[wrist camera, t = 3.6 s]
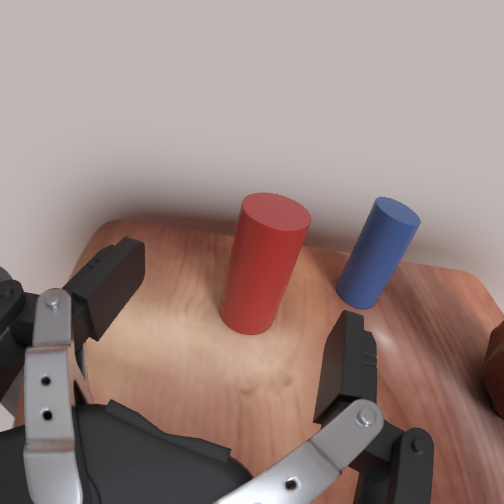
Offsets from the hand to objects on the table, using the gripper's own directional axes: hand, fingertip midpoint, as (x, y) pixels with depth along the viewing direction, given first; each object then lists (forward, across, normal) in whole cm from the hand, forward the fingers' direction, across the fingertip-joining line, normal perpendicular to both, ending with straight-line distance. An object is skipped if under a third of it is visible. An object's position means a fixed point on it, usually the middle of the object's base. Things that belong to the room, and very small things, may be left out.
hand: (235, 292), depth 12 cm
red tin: (+11, 0, +13) cm, 17 cm away
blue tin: (+19, -11, +13) cm, 26 cm away
